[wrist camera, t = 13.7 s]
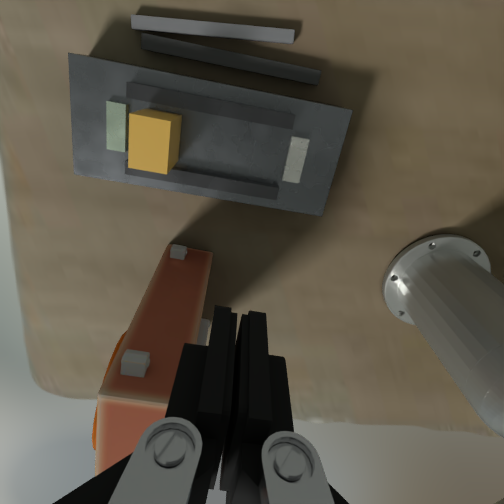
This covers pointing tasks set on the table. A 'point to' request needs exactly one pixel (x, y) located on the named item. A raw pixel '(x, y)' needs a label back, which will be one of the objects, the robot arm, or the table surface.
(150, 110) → the yellow block
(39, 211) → the table surface
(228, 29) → the grey square bar
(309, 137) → the slider track
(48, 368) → the table surface
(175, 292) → the control panel
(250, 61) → the dark grey long bar
